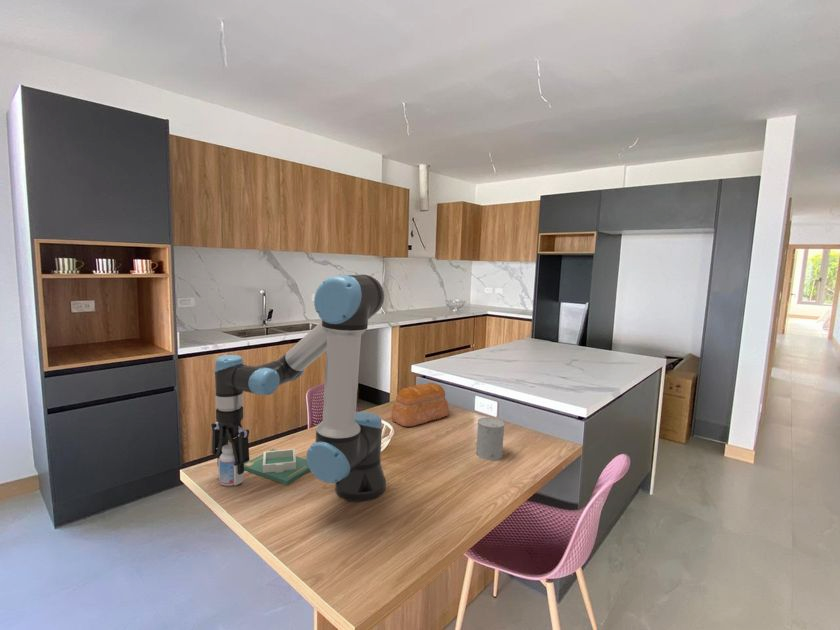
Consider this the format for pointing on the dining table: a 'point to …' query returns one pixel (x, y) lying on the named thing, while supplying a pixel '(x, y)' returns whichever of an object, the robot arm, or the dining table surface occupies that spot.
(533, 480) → the dining table surface
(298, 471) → the board
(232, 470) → the pill bottle
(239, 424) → the robot arm
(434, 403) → the bread
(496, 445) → the grey concrete cylinder
